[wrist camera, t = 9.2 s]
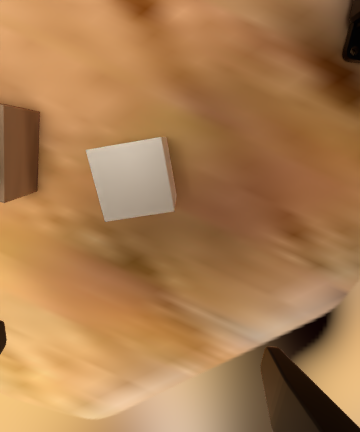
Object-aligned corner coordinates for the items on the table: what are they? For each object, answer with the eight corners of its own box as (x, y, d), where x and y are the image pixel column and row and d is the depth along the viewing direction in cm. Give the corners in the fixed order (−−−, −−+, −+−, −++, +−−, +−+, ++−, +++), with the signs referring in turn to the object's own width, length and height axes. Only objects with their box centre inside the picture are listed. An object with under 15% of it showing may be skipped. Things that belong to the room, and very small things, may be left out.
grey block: (166, 137, 19) (160, 136, 14) (176, 195, 20) (174, 211, 16) (108, 147, 19) (85, 150, 15) (122, 204, 20) (104, 221, 16)
